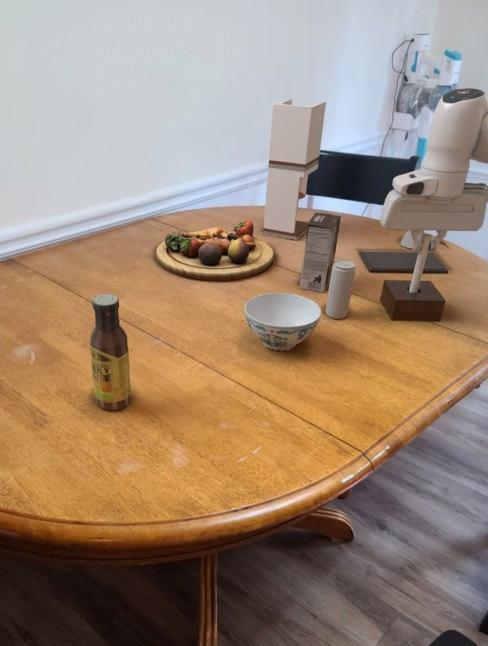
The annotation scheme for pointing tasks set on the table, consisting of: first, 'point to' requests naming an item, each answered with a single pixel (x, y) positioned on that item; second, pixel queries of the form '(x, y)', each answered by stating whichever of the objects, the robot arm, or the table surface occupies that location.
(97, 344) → the sauce bottle
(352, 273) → the beverage can
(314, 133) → the coffee grinder
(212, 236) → the wooden plate
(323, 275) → the coffee box
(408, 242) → the flask
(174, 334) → the table surface
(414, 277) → the stylus
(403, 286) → the stand
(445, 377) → the table surface
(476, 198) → the robot arm
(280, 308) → the chinaware
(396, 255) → the tablet
